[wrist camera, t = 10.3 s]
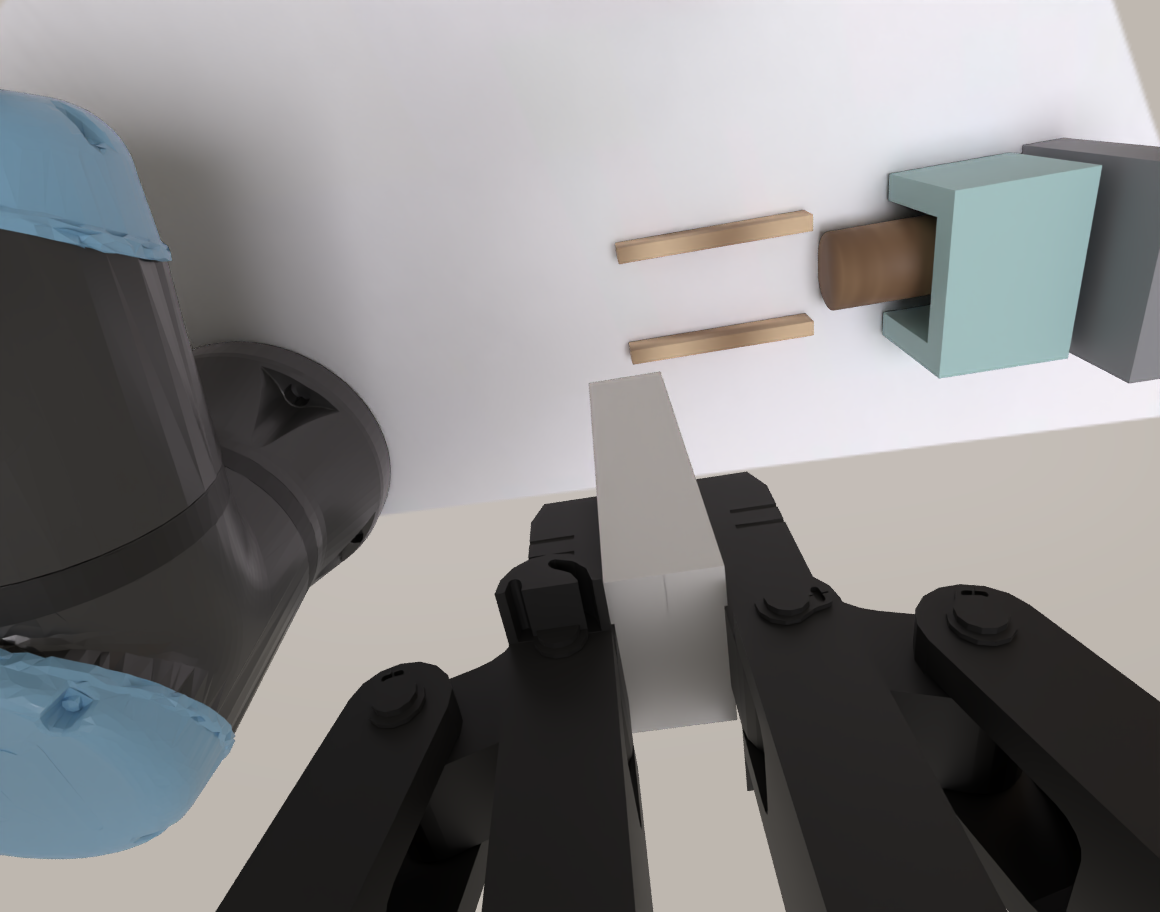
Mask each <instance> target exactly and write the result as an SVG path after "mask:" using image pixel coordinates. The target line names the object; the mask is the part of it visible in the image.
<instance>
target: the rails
mask: <svg viewBox="0 0 1160 912" xmlns="http://www.w3.org/2000/svg"><path fill="white" fill-rule="evenodd" d="M809 231H813V214H811V213H809V212H807V211H805V210H801V211H795V212H790V213H784V214H778V215H772V216H767V217H761V218H755V219H749V220H744V221H738V222H732V223H726V224H721V225H715V226H709V227H703V228H698V229H692V230H686V231H681V232H675V233H669V234H663V235H658V236H652V237H646V238H640V239H635V240H629V241H623V242H617V243H615V246H616V253H617V259H618V262H619V264H623V263H629V262H635V261H640V260H646V259H652V258H658V257H664V256H669V255H675V254H681V253H687V252H693V251H698V250H704V249H710V248H716V247H722V246H727V245H733V244H739V243H745V242H751V241H757V240H762V239H768V238H774V237H780V236H786V235H791V234H797V233H803V232H809ZM812 335H814V321H813V320H812V319H811V318H810V317H809V316H808V315H806V314H805V313H804V314H798V315H792V316H786V317H780V318H773V319H767V320H761V321H755V322H749V323H743V324H737V325H731V326H725V327H719V328H713V329H707V330H701V331H695V332H688V333H682V334H676V335H670V336H664V337H658V338H652V339H646V340H640V341H634V342H629V347H630V354H631V359H632V363H633V364H640V363H646V362H652V361H658V360H664V359H670V358H677V357H683V356H689V355H695V354H701V353H707V352H713V351H720V350H726V349H732V348H738V347H744V346H750V345H757V344H763V343H769V342H775V341H781V340H787V339H793V338H800V337H806V336H812Z"/></svg>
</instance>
